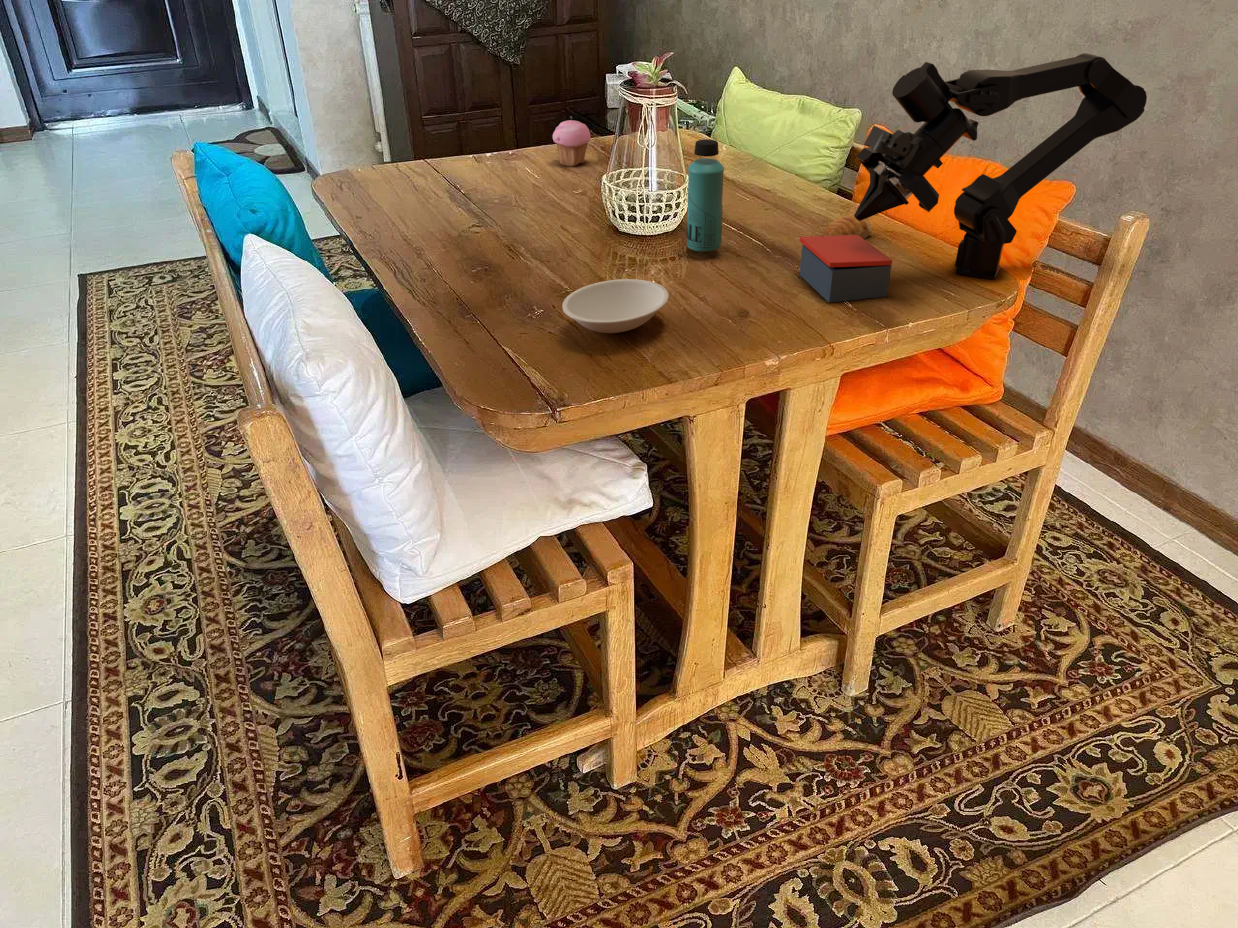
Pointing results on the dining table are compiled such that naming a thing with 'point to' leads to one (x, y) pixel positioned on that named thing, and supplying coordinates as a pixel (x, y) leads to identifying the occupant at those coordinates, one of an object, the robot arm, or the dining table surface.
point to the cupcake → (571, 142)
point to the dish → (615, 304)
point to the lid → (845, 251)
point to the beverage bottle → (705, 198)
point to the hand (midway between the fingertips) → (856, 218)
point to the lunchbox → (844, 279)
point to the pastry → (848, 227)
